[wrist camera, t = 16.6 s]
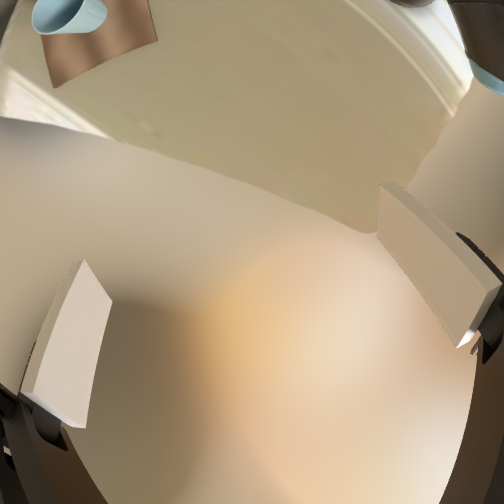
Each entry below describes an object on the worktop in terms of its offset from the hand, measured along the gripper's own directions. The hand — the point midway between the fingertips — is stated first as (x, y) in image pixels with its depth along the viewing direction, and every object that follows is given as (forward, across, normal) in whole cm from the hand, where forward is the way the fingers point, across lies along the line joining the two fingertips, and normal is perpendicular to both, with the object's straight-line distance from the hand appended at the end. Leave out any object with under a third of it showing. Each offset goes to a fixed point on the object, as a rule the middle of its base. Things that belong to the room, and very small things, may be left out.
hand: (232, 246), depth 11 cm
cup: (+31, -13, +23) cm, 41 cm away
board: (+31, -14, +23) cm, 41 cm away
